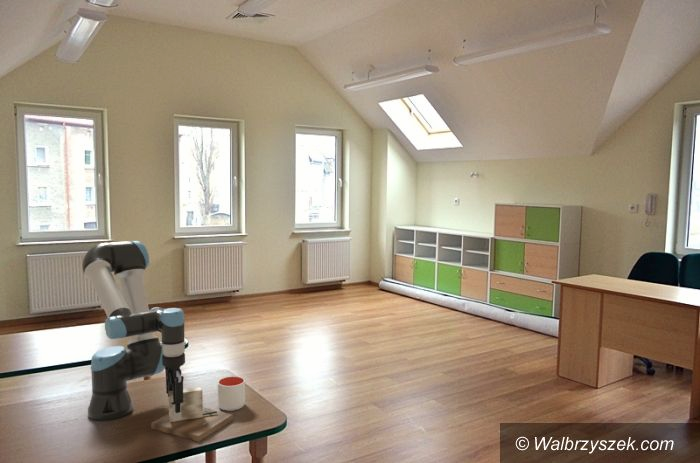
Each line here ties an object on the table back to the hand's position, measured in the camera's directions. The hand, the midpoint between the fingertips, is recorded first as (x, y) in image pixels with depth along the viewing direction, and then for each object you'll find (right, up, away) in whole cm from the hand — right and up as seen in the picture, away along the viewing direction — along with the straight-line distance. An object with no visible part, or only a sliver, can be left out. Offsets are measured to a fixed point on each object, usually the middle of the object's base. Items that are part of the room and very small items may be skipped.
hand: (175, 417), depth 189 cm
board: (+6, -3, +2) cm, 7 cm away
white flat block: (+6, -1, +2) cm, 6 cm away
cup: (+16, -2, +17) cm, 23 cm away
